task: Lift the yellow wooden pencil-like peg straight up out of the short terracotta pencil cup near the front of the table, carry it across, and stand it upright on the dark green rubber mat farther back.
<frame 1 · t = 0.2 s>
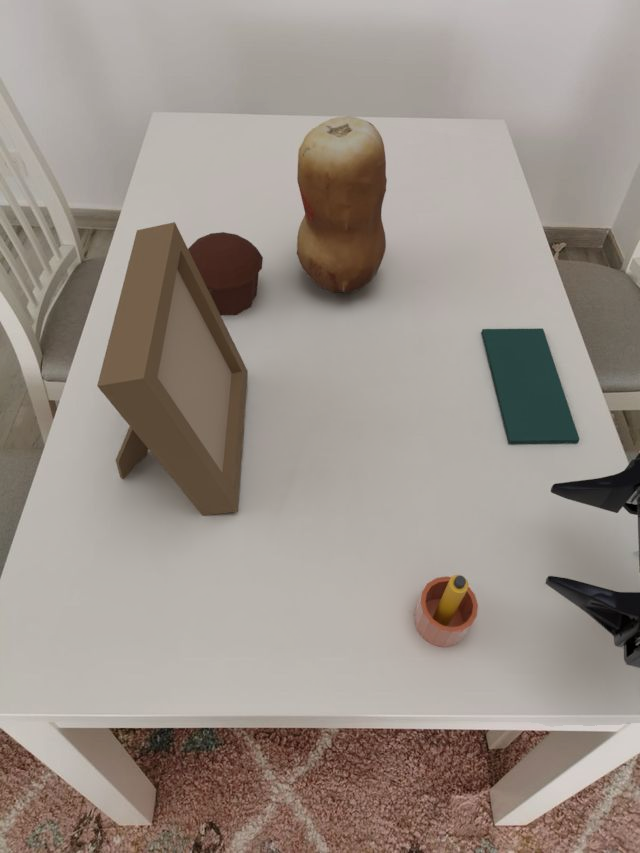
hand: (549, 531, 55), 15 cm above the table, tool horizontal, fingers open, 9 cm apart
muffin: (228, 297, 96), on the table
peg: (441, 619, 65), point 1 cm above the table, touching pencil cup
mat: (526, 384, 85), on the table
pencil cup: (440, 621, 66), on the table
photo frame: (186, 441, 80), on the table
butternut squash: (340, 282, 98), on the table
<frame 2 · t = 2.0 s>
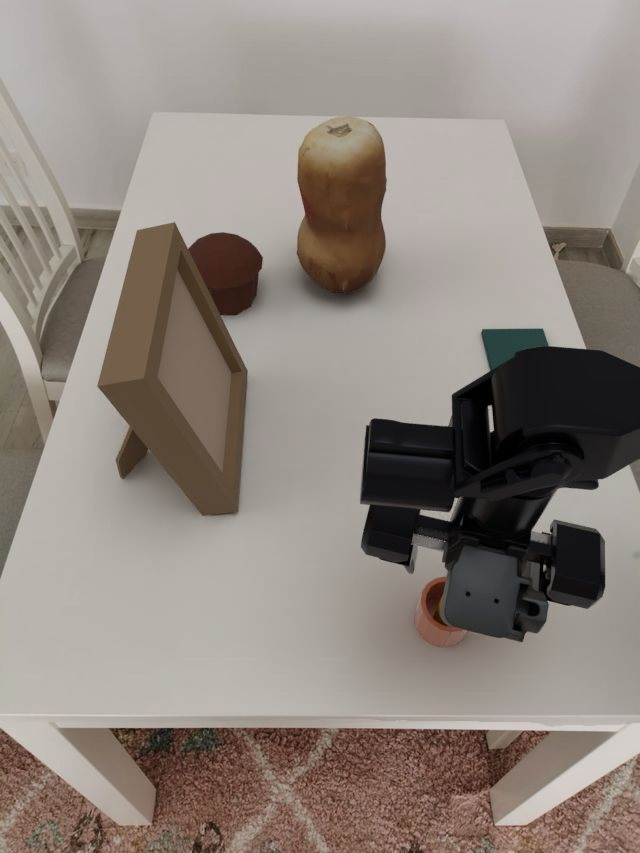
hand: (460, 581, 57), 11 cm above the table, tool pointing down, fingers open, 9 cm apart
nothing on the table moved.
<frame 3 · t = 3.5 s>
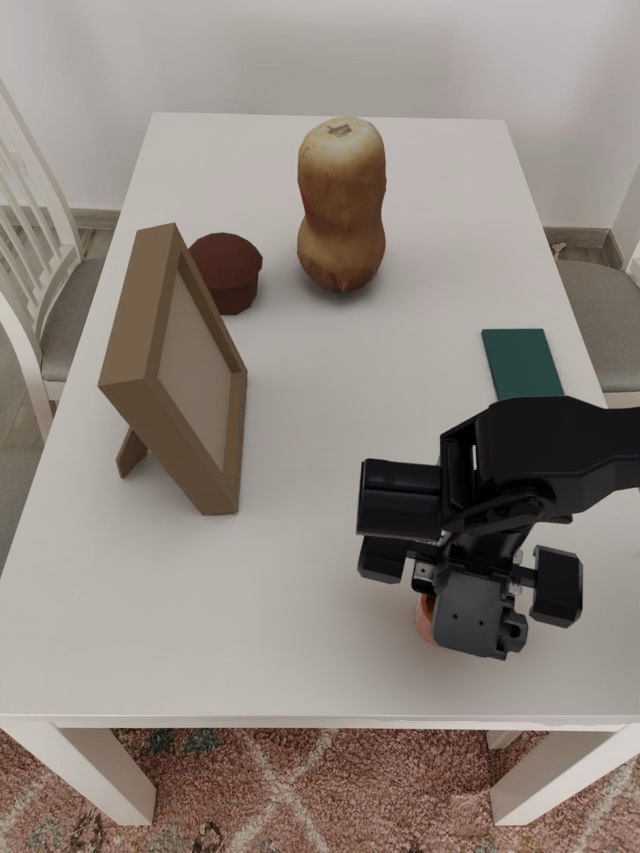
hand: (451, 599, 61), 7 cm above the table, tool pointing down, fingers closed on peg, 2 cm apart
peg: (441, 620, 65), point 1 cm above the table, touching gripper, pencil cup
everything else where it was.
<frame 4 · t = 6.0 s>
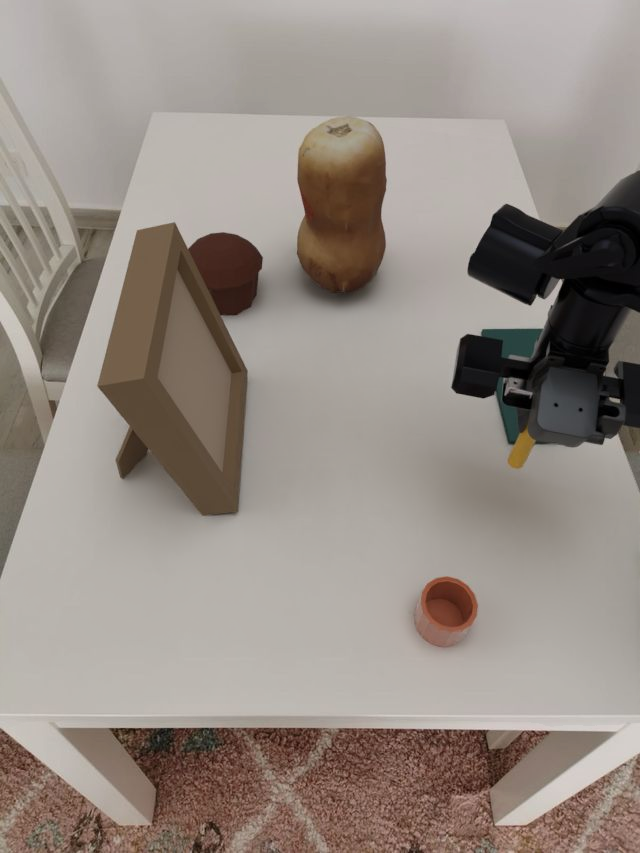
hand: (530, 431, 65), 13 cm above the table, tool pointing down, fingers closed on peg
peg: (515, 462, 69), point 7 cm above the table, touching gripper
everything else where it was.
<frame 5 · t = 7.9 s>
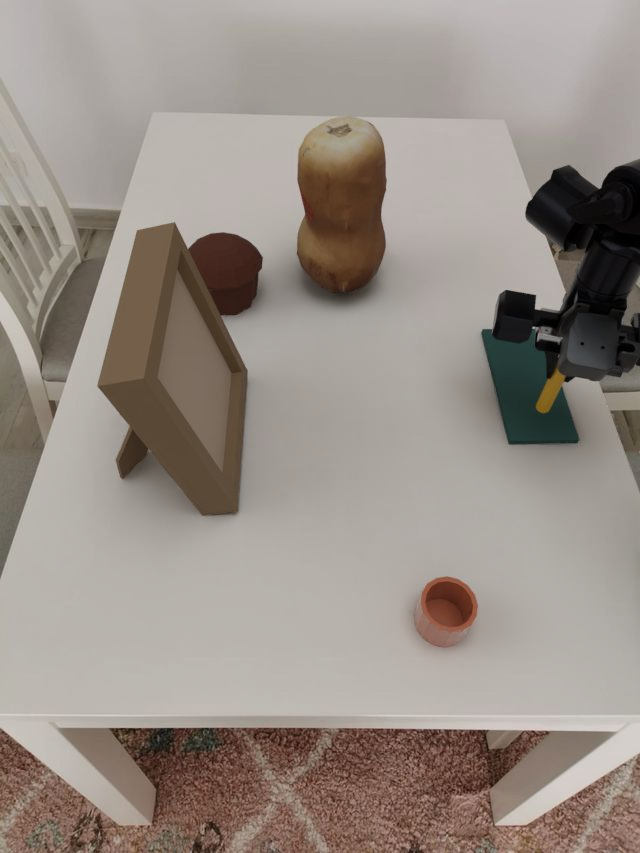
hand: (556, 378, 75), 8 cm above the table, tool pointing down, fingers closed on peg, 2 cm apart
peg: (542, 407, 80), point 3 cm above the table, touching gripper
everything else where it was.
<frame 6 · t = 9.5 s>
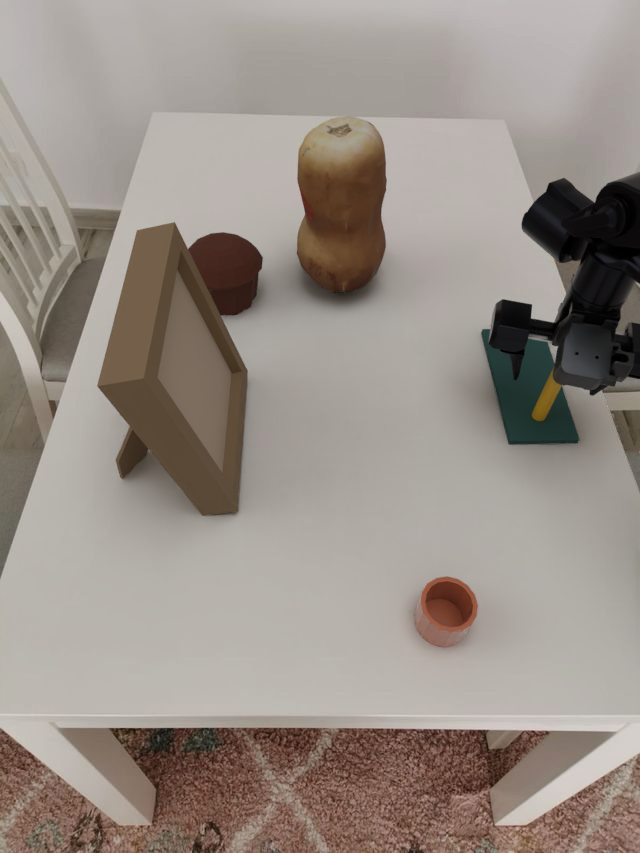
hand: (552, 385, 76), 7 cm above the table, tool pointing down, fingers open, 9 cm apart
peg: (538, 416, 81), point 1 cm above the table, touching mat
everything else where it was.
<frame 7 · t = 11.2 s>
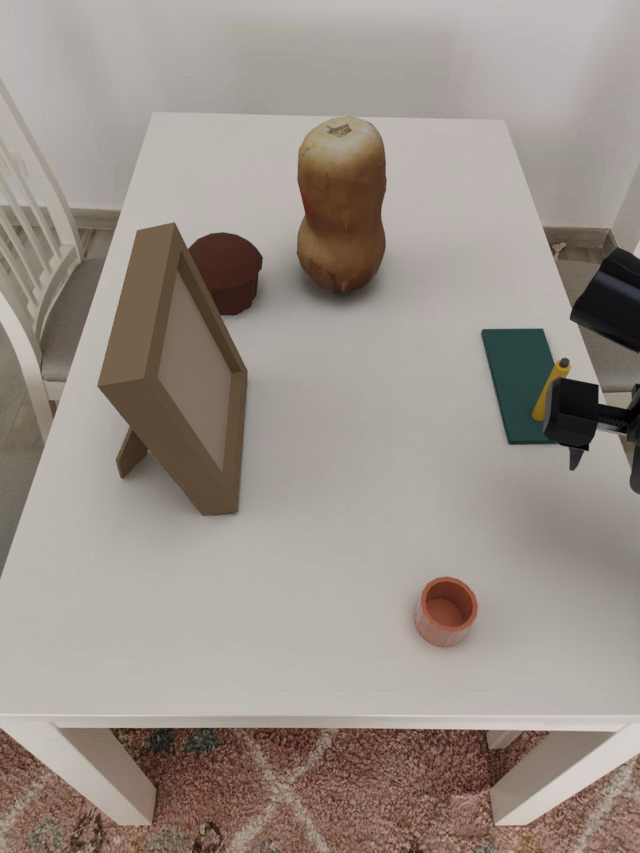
hand: (618, 477, 62), 13 cm above the table, tool pointing down, fingers open, 9 cm apart
nothing on the table moved.
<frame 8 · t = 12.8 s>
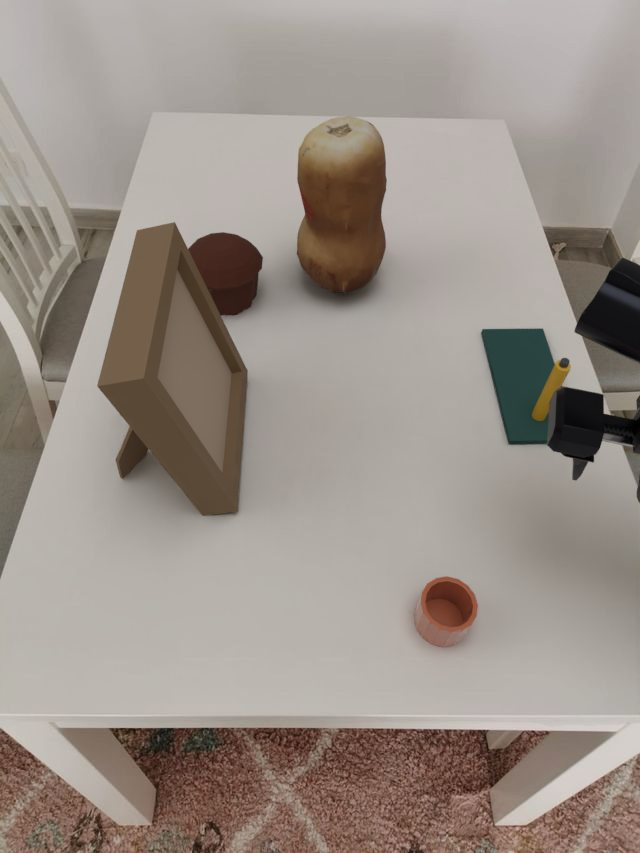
hand: (622, 486, 61), 13 cm above the table, tool pointing down, fingers open, 9 cm apart
nothing on the table moved.
at the end: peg inside the target area on the mat (0.1 cm from its centre), point 0.8 cm above the mat's base; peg tilted 0°; the gripper is holding nothing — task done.
